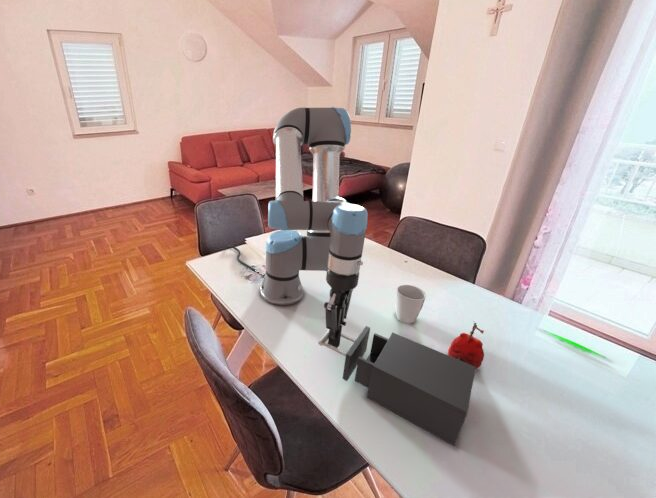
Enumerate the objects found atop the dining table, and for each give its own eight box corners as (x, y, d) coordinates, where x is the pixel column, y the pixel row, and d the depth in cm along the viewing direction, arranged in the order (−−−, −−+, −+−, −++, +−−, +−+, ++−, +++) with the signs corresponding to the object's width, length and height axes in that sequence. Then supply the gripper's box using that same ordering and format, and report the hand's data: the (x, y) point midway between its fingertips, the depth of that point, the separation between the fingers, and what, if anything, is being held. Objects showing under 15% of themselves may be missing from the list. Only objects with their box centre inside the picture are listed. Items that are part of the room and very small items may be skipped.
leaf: (606, 360, 84) (608, 358, 83) (541, 331, 94) (542, 329, 94) (607, 358, 84) (609, 356, 84) (542, 330, 95) (543, 327, 94)
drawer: (311, 361, 82) (313, 338, 79) (333, 335, 92) (335, 312, 88) (414, 418, 68) (422, 392, 65) (427, 379, 77) (435, 355, 74)
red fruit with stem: (482, 364, 83) (500, 319, 77) (474, 379, 78) (491, 332, 72) (451, 348, 88) (465, 304, 82) (441, 361, 84) (455, 316, 78)
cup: (422, 328, 96) (429, 301, 92) (394, 324, 97) (400, 298, 93) (415, 311, 103) (421, 286, 99) (389, 308, 104) (394, 283, 100)
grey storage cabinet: (366, 397, 74) (373, 366, 70) (386, 361, 84) (392, 332, 80) (454, 446, 63) (467, 412, 59) (464, 398, 73) (476, 366, 69)
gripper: (347, 286, 68) (336, 366, 78) (368, 262, 77) (356, 337, 87) (316, 275, 72) (309, 352, 82) (340, 254, 82) (331, 325, 91)
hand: (333, 344), depth 84 cm, fingers closed
